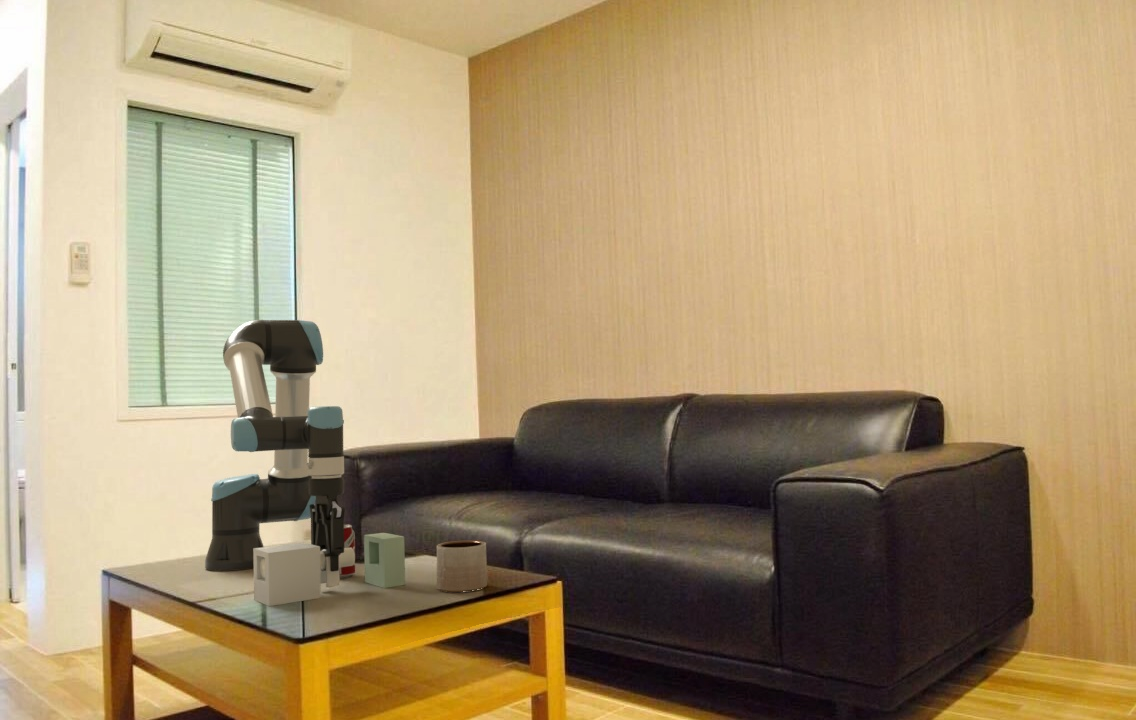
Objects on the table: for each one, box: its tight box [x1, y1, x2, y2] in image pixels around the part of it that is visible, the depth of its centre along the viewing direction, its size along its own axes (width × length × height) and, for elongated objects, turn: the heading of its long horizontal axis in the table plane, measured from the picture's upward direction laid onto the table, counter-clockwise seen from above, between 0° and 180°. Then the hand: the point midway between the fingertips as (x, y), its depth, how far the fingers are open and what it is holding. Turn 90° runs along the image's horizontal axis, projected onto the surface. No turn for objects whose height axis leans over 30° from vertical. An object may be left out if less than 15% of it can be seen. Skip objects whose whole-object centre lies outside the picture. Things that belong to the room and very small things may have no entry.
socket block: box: [363, 532, 406, 589], centre depth 201 cm, size 10×5×11 cm, turn 38°
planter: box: [436, 540, 488, 593], centre depth 193 cm, size 11×11×10 cm
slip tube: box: [260, 547, 356, 578], centre depth 190 cm, size 5×20×5 cm, turn 128°
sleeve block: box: [253, 542, 322, 607], centre depth 187 cm, size 9×11×11 cm
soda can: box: [339, 524, 356, 580], centre depth 211 cm, size 7×7×12 cm
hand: (327, 584), depth 192 cm, fingers closed on slip tube, 5 cm apart
